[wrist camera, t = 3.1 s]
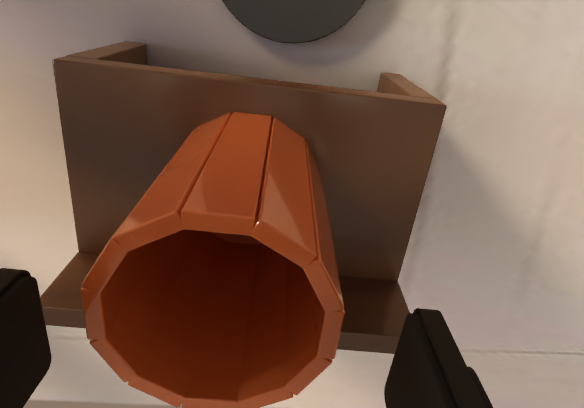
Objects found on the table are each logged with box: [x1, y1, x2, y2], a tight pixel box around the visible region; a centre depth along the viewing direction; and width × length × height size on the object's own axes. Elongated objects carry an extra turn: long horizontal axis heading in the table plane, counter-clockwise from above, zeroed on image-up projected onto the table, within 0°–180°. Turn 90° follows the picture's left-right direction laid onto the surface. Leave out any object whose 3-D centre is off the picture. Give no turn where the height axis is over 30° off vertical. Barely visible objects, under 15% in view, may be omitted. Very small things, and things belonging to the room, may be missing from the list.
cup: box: [80, 112, 345, 408], centre depth 14 cm, size 6×6×9 cm
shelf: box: [40, 42, 446, 354], centre depth 20 cm, size 10×16×12 cm, turn 83°
